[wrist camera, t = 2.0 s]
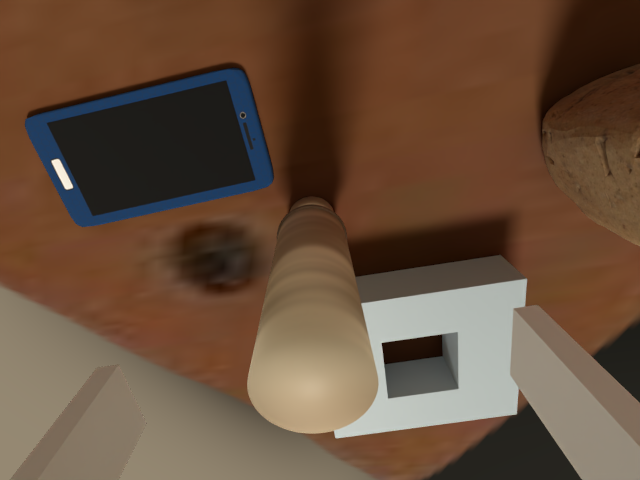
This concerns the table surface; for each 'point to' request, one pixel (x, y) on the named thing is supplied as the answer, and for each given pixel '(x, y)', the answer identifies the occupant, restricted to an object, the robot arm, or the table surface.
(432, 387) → the board
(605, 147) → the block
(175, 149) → the cell phone
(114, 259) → the table surface
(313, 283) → the peg
